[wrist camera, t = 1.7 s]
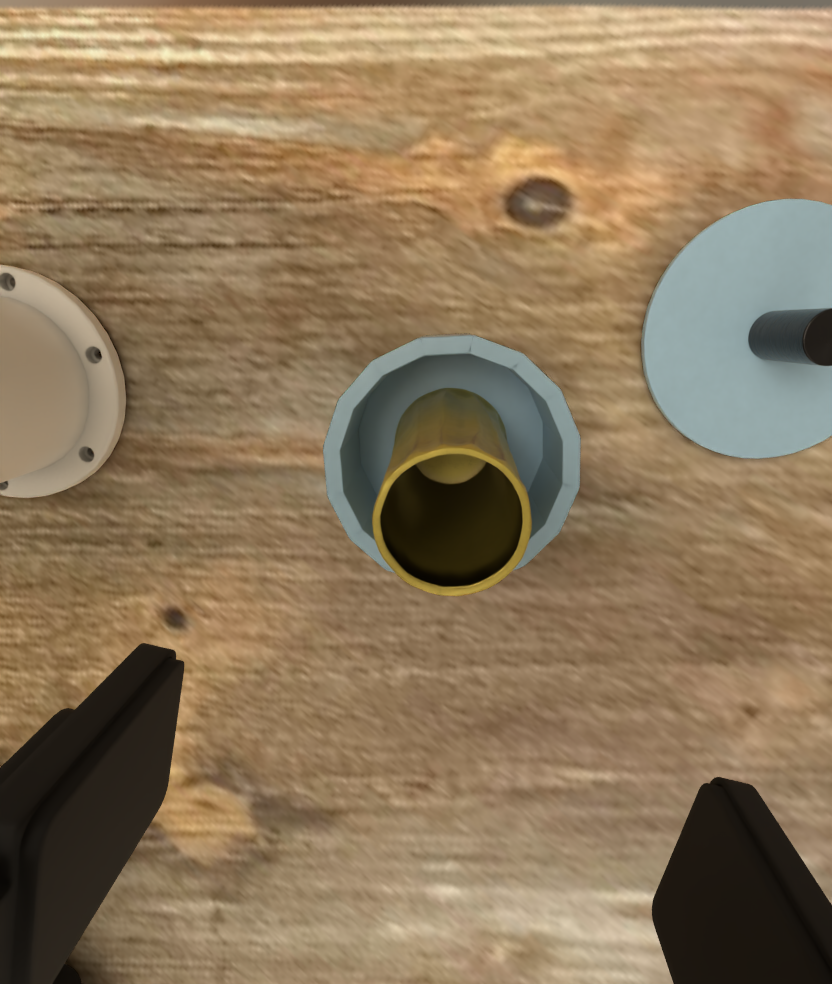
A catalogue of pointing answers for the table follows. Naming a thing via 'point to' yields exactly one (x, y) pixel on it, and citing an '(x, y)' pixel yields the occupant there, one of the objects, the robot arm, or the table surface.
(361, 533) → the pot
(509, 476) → the vase
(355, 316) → the table surface
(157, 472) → the table surface
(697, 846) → the robot arm
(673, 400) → the lid
